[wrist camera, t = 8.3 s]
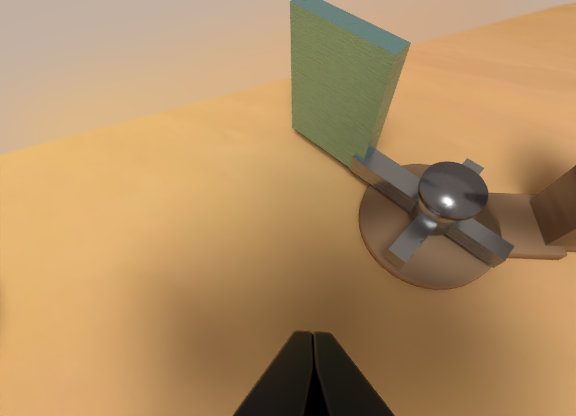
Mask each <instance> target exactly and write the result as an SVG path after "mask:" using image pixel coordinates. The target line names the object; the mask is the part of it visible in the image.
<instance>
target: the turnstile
mask: <svg viewBox="0 0 576 416" xmlns="http://www.w3.org/2000/svg"><path fill="white" fill-rule="evenodd" d="M290 14H291V15H290V19H291V73H292V74H291V76H292V128H294V129H295V130H297V131H298V132H300V133H301V134H302V135H304V136H305V137H307V138H308V139H309V140H311V141H312V142H314V143H315V144H317V145H318V146H319V147H321V148H322V149H324V150H325V151H327V152H328V153H329V154H331V155H332V156H334V157H335V158H336V159H338V160H339V161H341V162H342V163H344V164H345V165H346V166H348V167H349V168H350V169H349V170H351V171H352V172H354V173H355V174H356V175H358V176H359V177H361V178H362V179H364V180H365V181H366V182H368V183H369V184H371V185H372V186H373V187H375V188H376V189H378V190H379V191H381V192H382V193H383V194H385V195H386V196H388V197H389V198H390V199H392V200H393V201H395V202H396V203H398V204H399V205H400V206H402V207H403V208H405V209H406V210H407V211H409V212H410V218H411V221H412V223H411V224H410V225H409V226H408V227H407V228H406V229H405V231H404V232H403V233H402V234H401V235H400V236H399V237H398V239H397V240H396V241H395V242H394V243H393V244H392V246H391V247H390V248H389V249H388V250H387V252H386V253H385V255H384V256H383V257H384V258H386V259H387V260H388V261H389V262H391V263H392V264H393V265H394V266H396V267H397V268H398V269H401V268H402V267H403V266H404V265H405V264H406V262H407V261H408V260H409V259H410V258H411V256H412V255H413V254H414V253H415V251H416V250H417V249H418V248H419V247H420V245H421V244H422V243H423V242H424V241H425V239H426V238H427V237H428V236H429V235H436V236H437V235H443V234H446V235H448V236H449V237H450V238H452V239H453V240H455V241H456V242H457V243H459V244H460V245H462V246H463V247H465V248H466V249H467V250H469V251H470V252H472V253H473V254H475V255H476V256H477V257H479V258H480V259H482V260H483V261H485V262H486V263H487V264H489V265H490V266H492V267H493V268H494V267H496V266H497V265H499V264H501V263H502V262H504V261H505V260H506V259H507V257H508V256H509V254H510V253H511V251H512V250H513V248H514V247H515V246H514V245H512V244H511V243H509V242H508V241H506V240H504V239H503V238H501V237H500V236H498V235H497V234H495V233H494V232H492V231H491V230H489V229H488V228H486V227H485V226H483V225H482V224H480V223H479V222H477V221H476V220H474V219H473V218H472V217H474V216H475V215H477V214H478V213H479V212H480V211H481V210H482V209H483V208H484V207H485V205H486V203H487V201H488V189H487V186H486V184H485V182H484V181H483V179H482V178H481V177H480V176H479V174H480V173H481V171H482V170H483V169H484V168H483V167H481V166H480V165H478V164H476V163H474V162H473V161H471V160H469V159H468V158H467V159H466V160H465V162H464V163H463V164H459V163H455V162H439V163H436V164H433V165H431V166H430V167H428V168H427V169H426V170H425V172H424V173H423V175H422V176H421V178H419V177H417V176H416V175H414V174H413V173H411V172H410V171H408V170H407V169H405V168H404V167H402V166H400V165H399V164H397V163H396V162H394V161H393V160H391V159H390V158H388V157H387V156H385V155H384V154H382V153H381V152H379V151H377V150H376V146H377V143H378V140H379V137H380V134H381V131H382V128H383V125H384V122H385V119H386V116H387V113H388V110H389V107H390V104H391V101H392V98H393V95H394V92H395V89H396V86H397V83H398V80H399V77H400V74H401V71H402V68H403V65H404V61H405V58H406V55H407V52H408V49H409V46H410V42H408V41H406V40H404V39H402V38H400V37H398V36H396V35H394V34H391V33H389V32H387V31H385V30H383V29H381V28H379V27H377V26H375V25H373V24H371V23H369V22H366V21H365V20H362V19H360V18H358V17H356V16H354V15H352V14H350V13H348V12H346V11H344V10H342V9H340V8H338V7H335V6H333V5H331V4H329V3H327V2H325V1H323V0H292V1H290Z"/></svg>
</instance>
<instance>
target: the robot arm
mask: <svg viewBox="0 0 576 416" xmlns="http://www.w3.org/2000/svg"><path fill="white" fill-rule="evenodd" d="M233 416H395V415H394V414H393V413H392V411H391V410H390V409H389V408H388V406H387V405H386V404H385V402H384V401H383V400H382V398H381V397H380V396H379V395H378V393H377V392H376V391H375V389H374V388H373V387H372V386H371V384H370V383H369V382H368V380H367V379H366V378H365V377H364V375H363V374H362V373H361V371H360V370H359V369H358V368H357V366H356V365H355V364H354V362H353V361H352V360H351V358H350V357H349V356H348V355H347V353H346V352H345V351H344V349H343V348H342V347H341V346H340V344H339V343H338V342H337V340H336V339H335V338H334V337H333V335H332V334H331V333H329V332H313V334H312V333H311V332H310V331H298V330H296V331H294V332H293V333H292V335H291V336H290V337H289V339H288V340H287V342H286V343H285V344H284V346H283V347H282V348H281V350H280V351H279V353H278V354H277V355H276V357H275V358H274V359H273V361H272V362H271V364H270V365H269V366H268V368H267V369H266V370H265V372H264V373H263V374H262V376H261V377H260V379H259V380H258V381H257V383H256V384H255V385H254V387H253V388H252V390H251V391H250V392H249V394H248V395H247V396H246V398H245V399H244V401H243V402H242V403H241V405H240V406H239V407H238V409H237V410H236V412H235V413H234V414H233Z"/></svg>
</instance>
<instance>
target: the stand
mask: <svg viewBox="0 0 576 416" xmlns="http://www.w3.org/2000/svg"><path fill="white" fill-rule="evenodd" d="M430 166H431V165H423V164H410V165H403V166H402V167H404V168H405V169H407V170H408V171H410V172H411V173H413V174H414V175H416V176H417V177H419V178H421V176H422V175H423V173H424V172H425V170H426V169H427V168H428V167H430ZM472 218H473V219H474V220H476V221H477V222H479V223H480V224H482V225H483V226H485V227H486V228H488V229H489V230H491V231H492V232H494V233H495V234H497V235H498V236H500V237H501V238H503V239H504V240H506V241H508V242H509V243H511V244H512V245H514V246H515V247H514V248H513V250H512V251H511V253H510V254H509V256H508V257H507V258H524V259H546V260H559V259H561V258H563V257H565V256H567V253H566V252H576V166H574V167H573V168H572V169H570V170H569V171H568V172H567V173H565V174H564V175H563V176H562V177H560V178H559V179H558V180H557V181H555V182H554V183H553V184H551V185H550V186H549V187H548V188H546V189H545V190H544V191H543V192H541V193H540V194H539V195H534V194H505V193H488V201H487V203H486V205H485V207H484V208H483V209H482V210H481V211H480V212H479V213H478V214H477V215H475V216H474V217H472ZM411 223H412V221H411V218H410V212H409V211H407V210H406V209H405V208H403V207H402V206H400V205H399V204H398V203H396V202H395V201H393V200H392V199H390V198H389V197H388V196H386V195H385V194H383V193H382V192H381V191H379V190H378V189H376V188H375V187H373V186H372V185H371V184H370V186H369V187H368V189H367V191H366V192H365V194H364V197H363V200H362V203H361V206H360V211H359V227H360V231H361V235H362V238H363V240H364V243H365V245H366V247H367V248H368V250H369V252H370V253H371V254H372V256H373V257H374V258H375V260H376V261H377V262H378V263H379V264H380V265H381V266H382V267H383V268H385V269H386V270H387V271H388V272H389V273H391V274H392V275H394V276H396V277H397V278H399V279H401V280H403V281H405V282H407V283H410V284H412V285H415V286H418V287H423V288H427V289H436V290H438V289H452V288H457V287H460V286H464V285H466V284H468V283H470V282H472V281H474V280H475V279H477V278H479V277H480V276H481V275H483V274H484V273H486V272H487V271H488V270H489V269H490V268H491V266H490V265H489V264H487V263H486V262H485V261H483V260H482V259H480V258H479V257H477V256H476V255H475V254H473V253H472V252H470V251H469V250H467V249H466V248H465V247H463V246H462V245H460V244H459V243H457V242H456V241H455V240H453V239H452V238H450V237H449V236H448V235H446V234H443V235H437V236H436V235H429V236H428V237H427V238H426V239H425V241H424V242H423V243H422V244H421V245H420V247H419V248H418V249H417V250H416V251H415V253H414V254H413V255H412V256H411V258H410V259H409V260H408V261H407V262H406V264H405V265H404V266H403V267H402V268H401V269H398V268H397V267H396V266H394V265H393V264H392V263H391V262H389V261H388V260H387V259H386V258H384V257H383V256H384V255H385V253H386V252H387V250H388V249H389V248H390V247H391V246H392V244H393V243H394V242H395V241H396V240H397V239H398V237H399V236H400V235H401V234H402V233H403V232H404V231H405V229H406V228H407V227H408V226H409V225H410V224H411Z"/></svg>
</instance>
